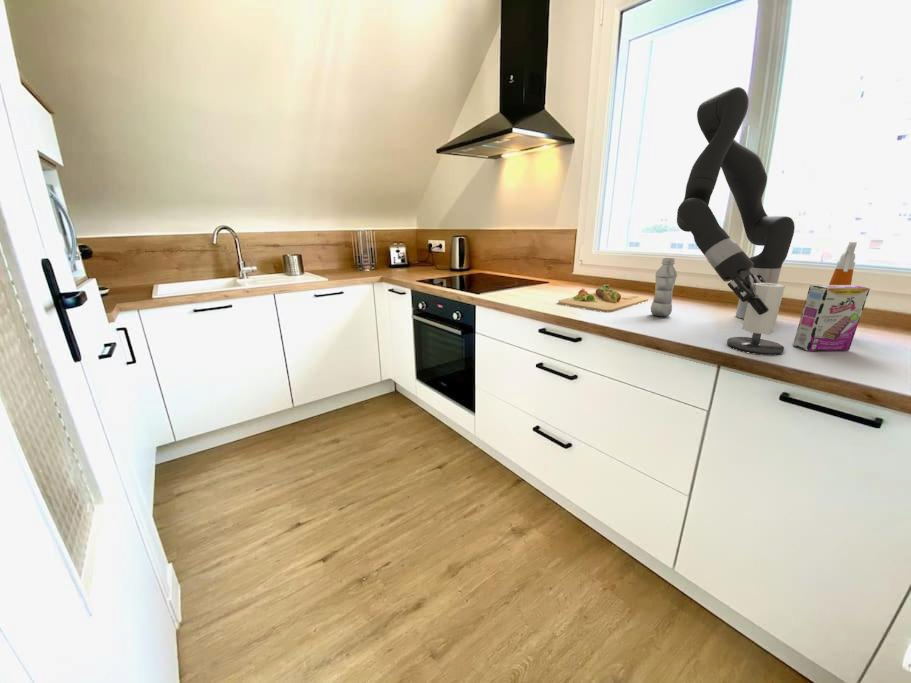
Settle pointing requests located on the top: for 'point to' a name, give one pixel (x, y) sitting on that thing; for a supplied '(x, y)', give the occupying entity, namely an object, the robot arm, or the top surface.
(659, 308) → the plastic bottle
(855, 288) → the candy bar box
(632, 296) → the cutting board
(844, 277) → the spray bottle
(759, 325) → the paper towel roll
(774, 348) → the roll holder
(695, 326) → the top surface
